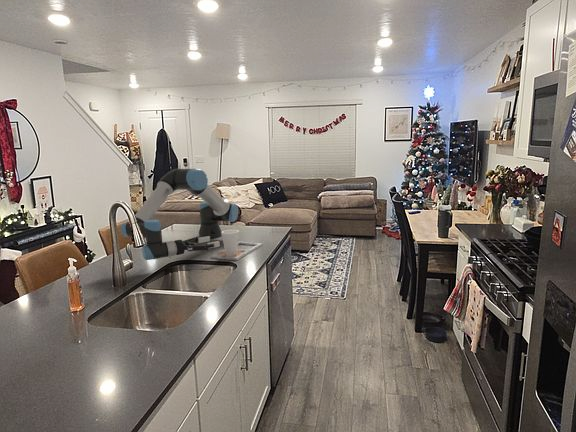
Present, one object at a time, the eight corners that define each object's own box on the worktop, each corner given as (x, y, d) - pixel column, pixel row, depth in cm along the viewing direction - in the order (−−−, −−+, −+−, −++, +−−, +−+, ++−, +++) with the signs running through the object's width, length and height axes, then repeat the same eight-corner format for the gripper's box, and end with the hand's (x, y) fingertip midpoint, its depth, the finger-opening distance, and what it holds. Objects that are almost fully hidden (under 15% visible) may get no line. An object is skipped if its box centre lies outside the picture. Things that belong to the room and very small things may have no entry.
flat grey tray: (238, 243, 237) (238, 241, 236) (262, 245, 231) (262, 243, 231) (211, 257, 209) (210, 255, 208) (237, 260, 203) (236, 258, 202)
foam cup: (219, 256, 211) (218, 233, 208) (228, 251, 219) (226, 229, 216) (234, 257, 207) (233, 234, 205) (243, 252, 215) (241, 230, 213)
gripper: (168, 249, 206) (206, 243, 218) (183, 261, 186) (224, 253, 197) (167, 236, 205) (205, 230, 216) (181, 246, 184) (223, 239, 195)
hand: (214, 241), depth 206 cm, fingers open, 13 cm apart
